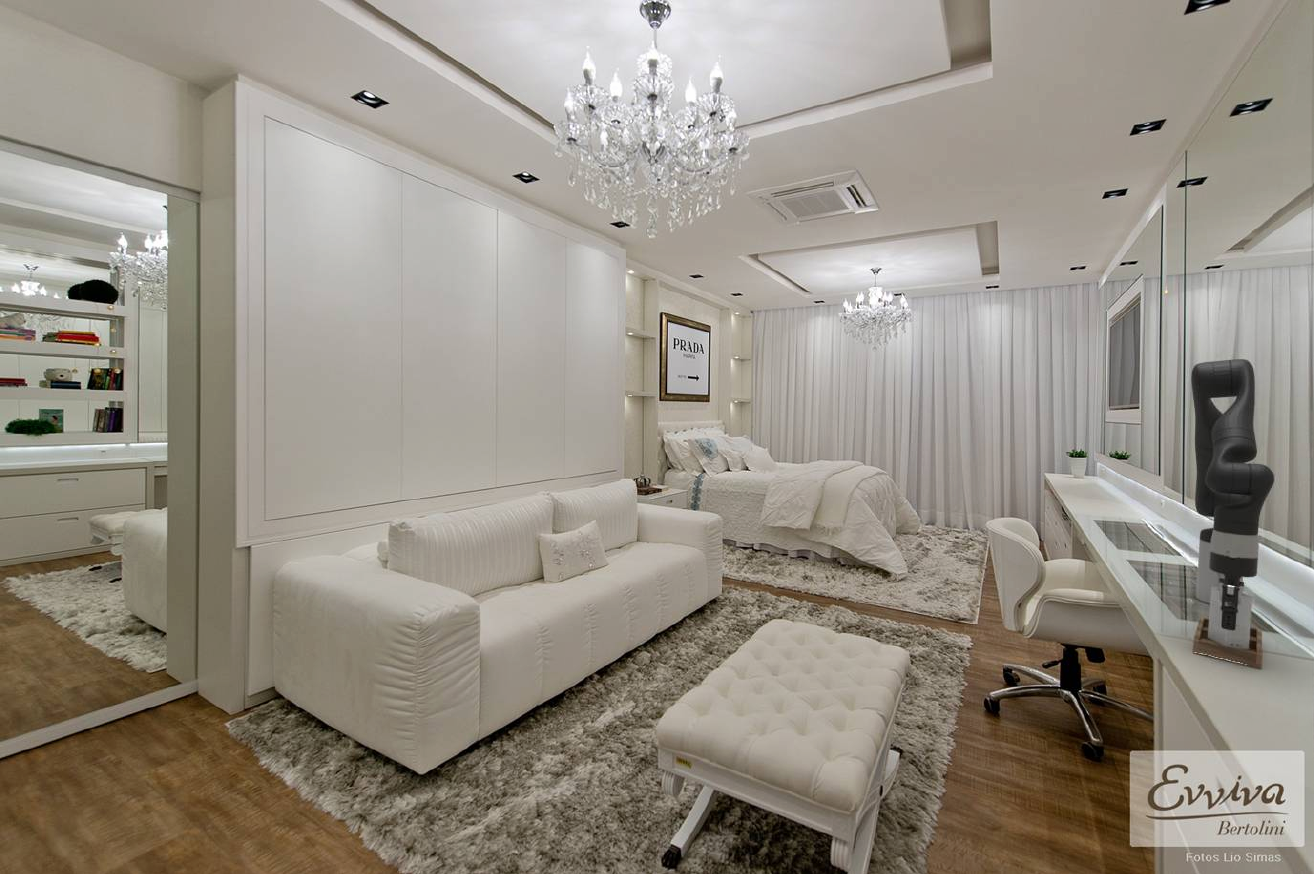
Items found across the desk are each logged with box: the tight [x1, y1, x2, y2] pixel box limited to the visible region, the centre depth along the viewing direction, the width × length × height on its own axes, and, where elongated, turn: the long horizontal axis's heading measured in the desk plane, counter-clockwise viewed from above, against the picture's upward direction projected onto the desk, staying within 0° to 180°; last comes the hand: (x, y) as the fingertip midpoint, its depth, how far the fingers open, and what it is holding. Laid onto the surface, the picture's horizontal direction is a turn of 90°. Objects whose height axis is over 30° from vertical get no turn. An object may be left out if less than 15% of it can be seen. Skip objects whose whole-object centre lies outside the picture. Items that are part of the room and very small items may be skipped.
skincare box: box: [1208, 587, 1253, 650], centre depth 128 cm, size 6×4×12 cm
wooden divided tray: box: [1192, 616, 1263, 670], centre depth 132 cm, size 20×11×5 cm, turn 134°
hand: (1228, 624), depth 128 cm, fingers closed on skincare box, 7 cm apart
